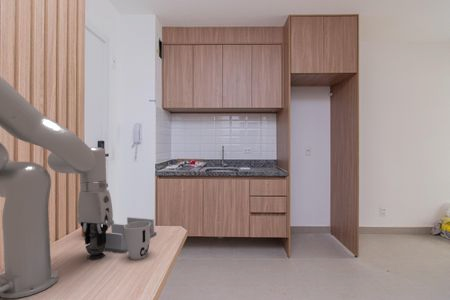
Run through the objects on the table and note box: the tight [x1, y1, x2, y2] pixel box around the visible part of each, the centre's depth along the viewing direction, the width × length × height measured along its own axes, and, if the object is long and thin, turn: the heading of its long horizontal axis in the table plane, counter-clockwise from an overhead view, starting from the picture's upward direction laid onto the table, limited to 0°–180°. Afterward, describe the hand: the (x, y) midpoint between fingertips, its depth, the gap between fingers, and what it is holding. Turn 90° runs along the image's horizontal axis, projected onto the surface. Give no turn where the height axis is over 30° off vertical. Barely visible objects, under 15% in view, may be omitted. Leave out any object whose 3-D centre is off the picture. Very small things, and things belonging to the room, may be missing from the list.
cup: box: [124, 221, 151, 260], centre depth 86 cm, size 8×8×10 cm
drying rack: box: [104, 216, 157, 254], centre depth 100 cm, size 18×14×6 cm
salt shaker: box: [85, 223, 106, 261], centre depth 86 cm, size 6×6×12 cm
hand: (95, 243), depth 87 cm, fingers closed on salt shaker, 4 cm apart
